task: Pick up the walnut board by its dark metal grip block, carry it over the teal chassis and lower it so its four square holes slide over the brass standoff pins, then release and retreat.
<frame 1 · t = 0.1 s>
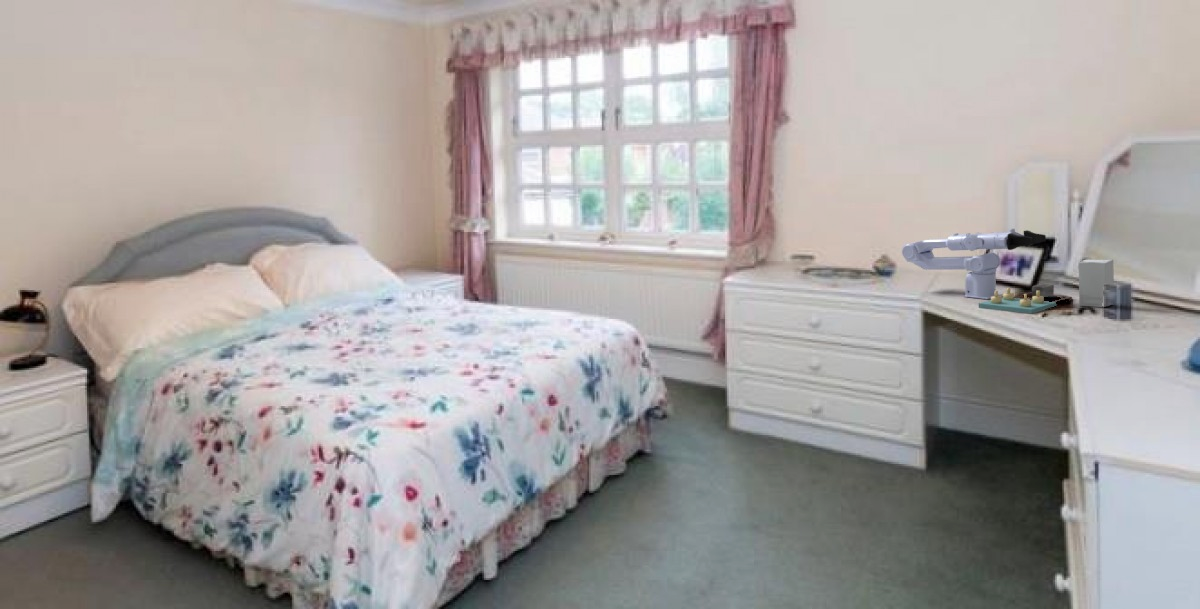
hand: (1038, 239, 248), 22 cm above the table, tool horizontal, fingers open, 7 cm apart
board: (1042, 299, 255), on the table
skincare box: (1095, 306, 240), on the table
chassis: (1016, 307, 248), on the table
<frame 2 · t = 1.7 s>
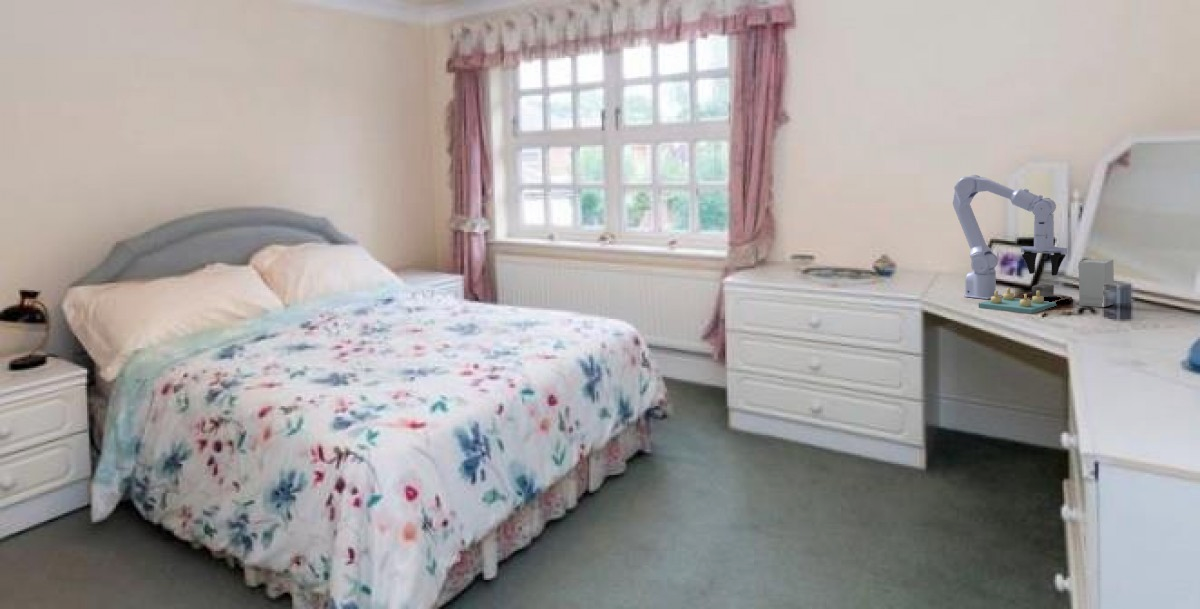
hand: (1043, 274, 253), 9 cm above the table, tool pointing down, fingers open, 7 cm apart
nothing on the table moved.
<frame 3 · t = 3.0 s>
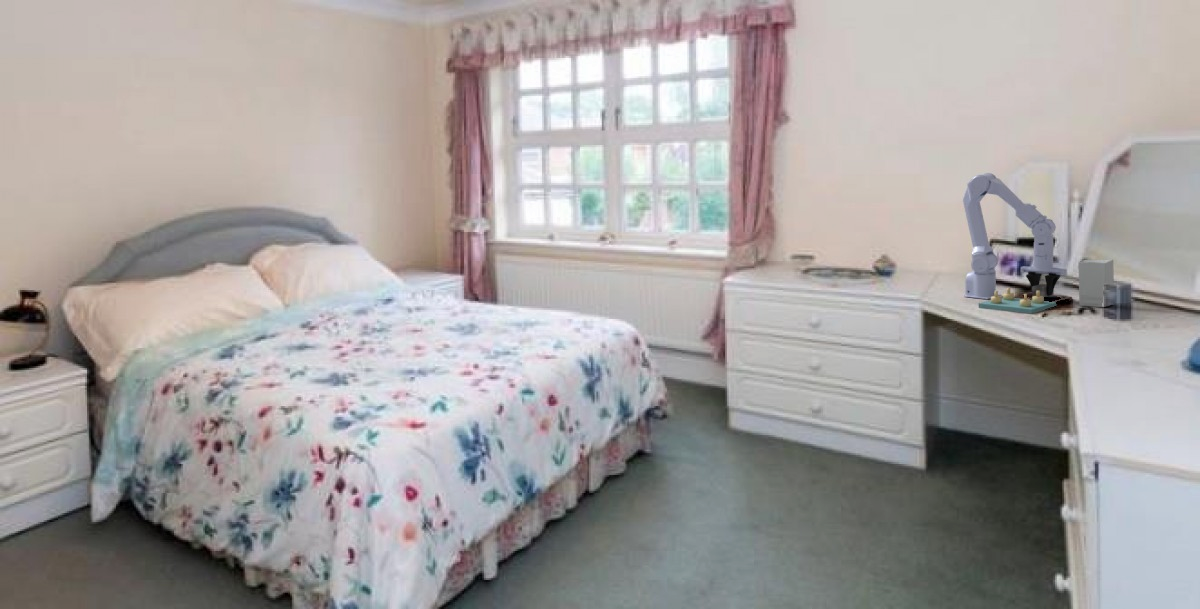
hand: (1042, 294, 254), 2 cm above the table, tool pointing down, fingers closed on board, 4 cm apart
board: (1042, 299, 255), on the table, touching gripper
everything else where it was.
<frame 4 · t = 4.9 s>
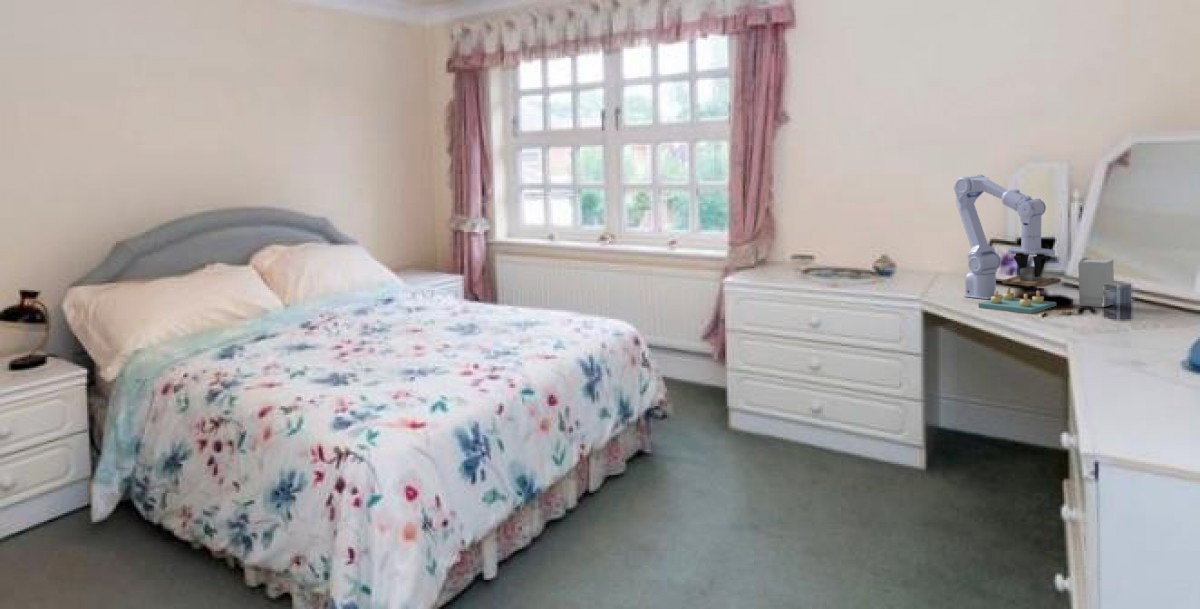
hand: (1030, 276, 250), 9 cm above the table, tool pointing down, fingers closed on board, 4 cm apart
board: (1030, 282, 250), point 7 cm above the table, touching gripper
everything else where it was.
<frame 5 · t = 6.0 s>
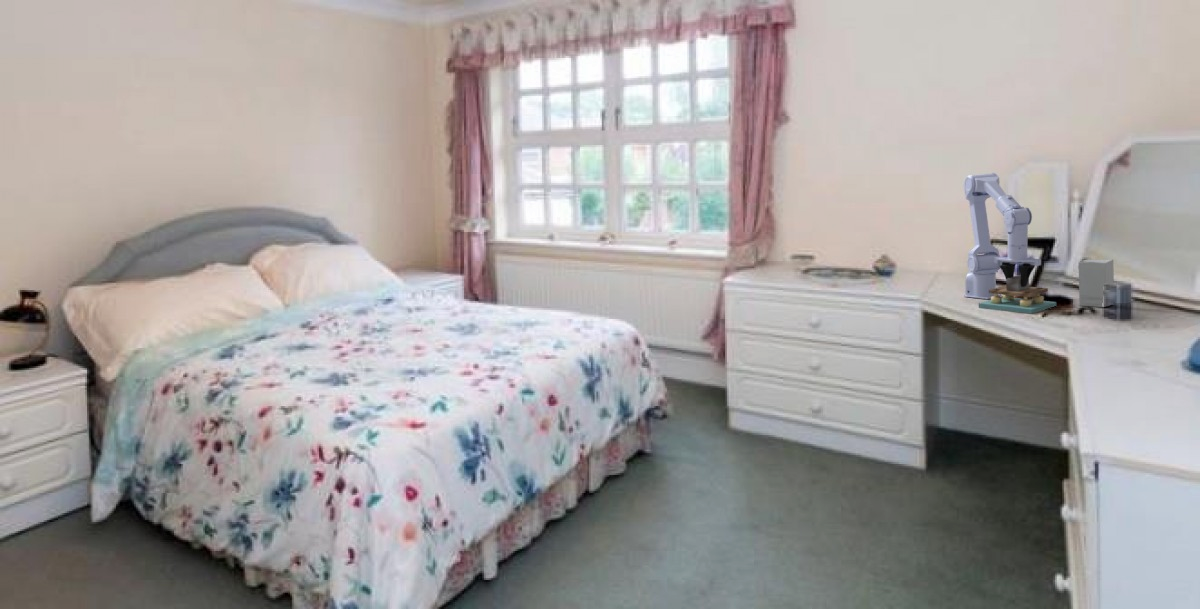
hand: (1017, 285, 246), 7 cm above the table, tool pointing down, fingers closed on board, 4 cm apart
board: (1017, 292, 247), point 5 cm above the table, touching gripper
everything else where it was.
when the fingers open (6 cm above the table, at t = 6.7 s): board stays where it is, resting on chassis.
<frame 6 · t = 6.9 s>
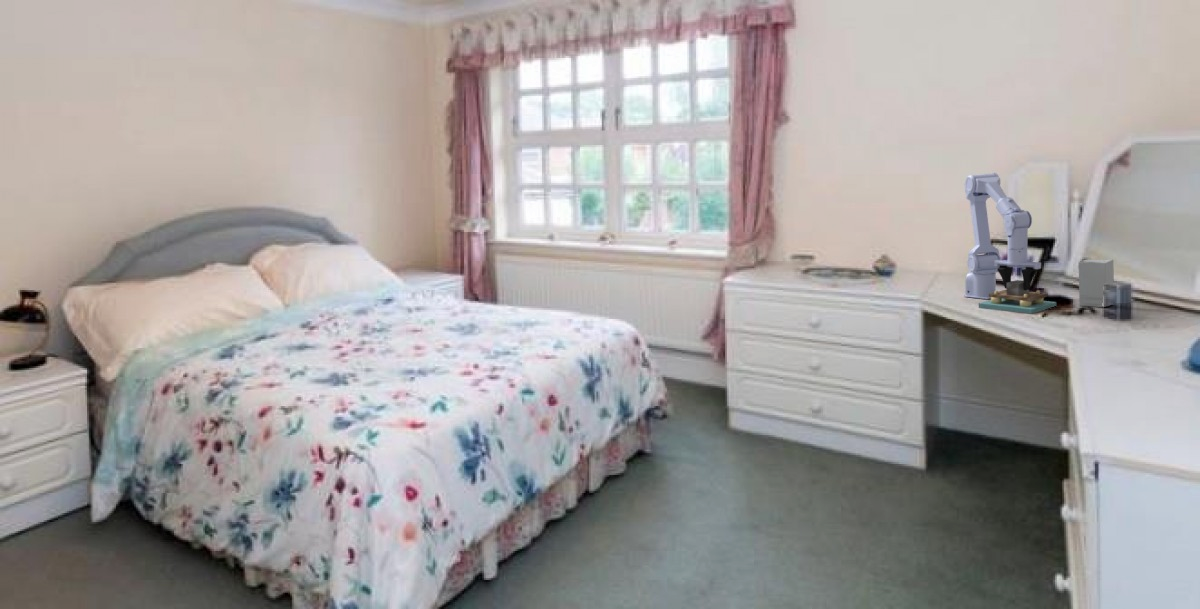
hand: (1016, 288, 246), 6 cm above the table, tool pointing down, fingers open, 6 cm apart
board: (1017, 296, 247), point 3 cm above the table, touching chassis
everything else where it was.
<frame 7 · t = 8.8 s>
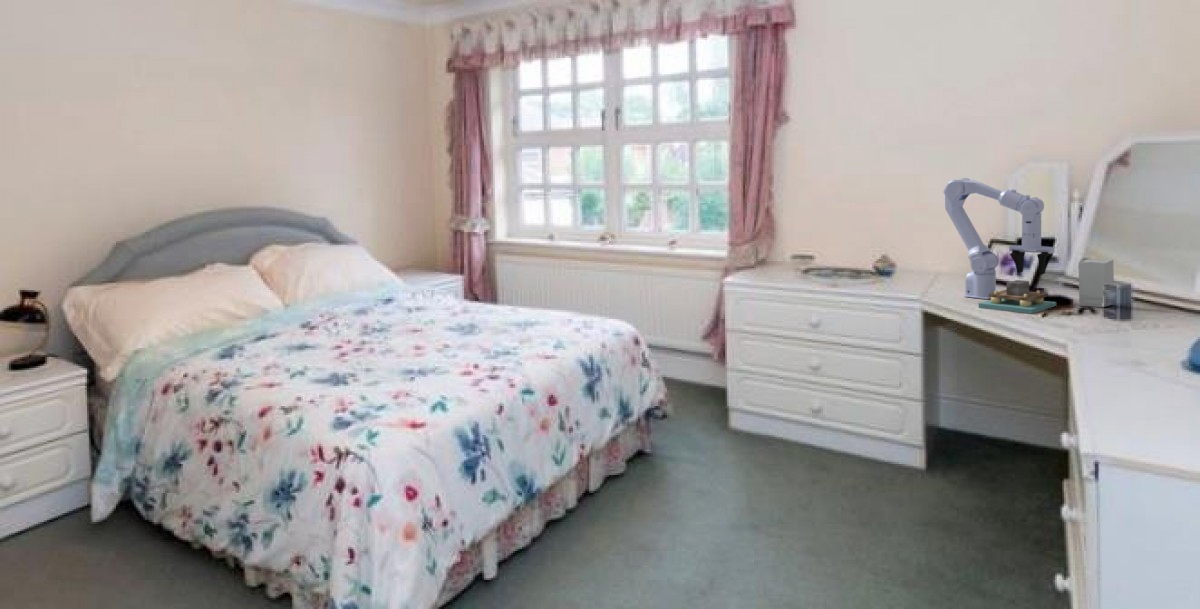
hand: (1030, 273, 255), 9 cm above the table, tool pointing down, fingers open, 7 cm apart
nothing on the table moved.
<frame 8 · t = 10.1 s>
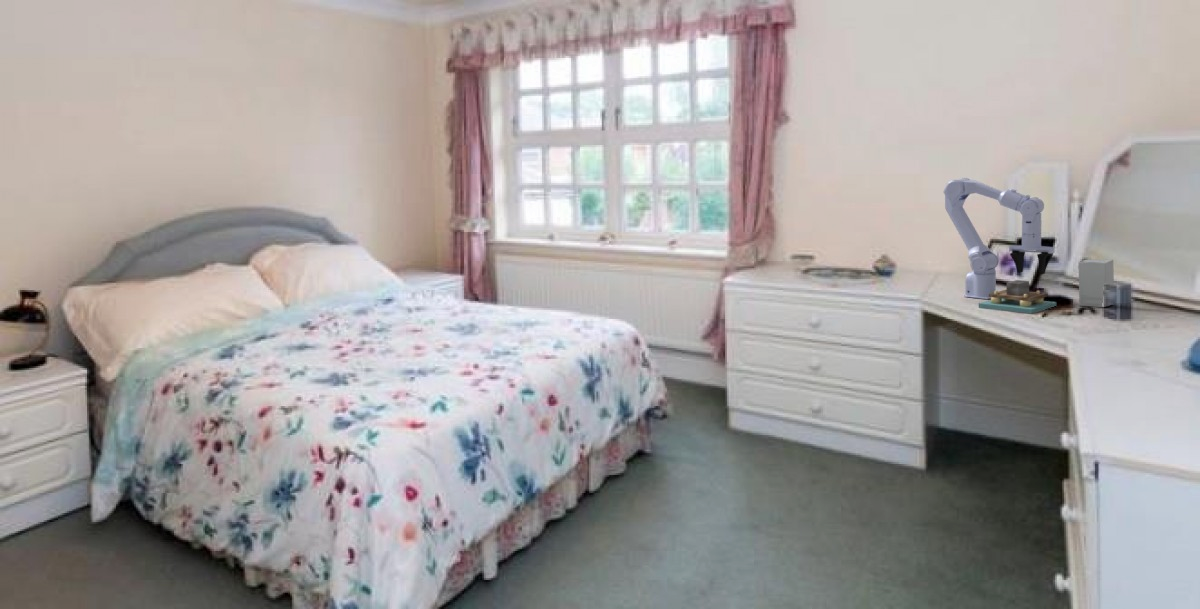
hand: (1030, 273, 255), 9 cm above the table, tool pointing down, fingers open, 7 cm apart
nothing on the table moved.
at the end: board 0.4 cm off-centre on the chassis, point 3.5 cm above the chassis's base; board tilted 0°; the gripper is holding nothing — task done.
